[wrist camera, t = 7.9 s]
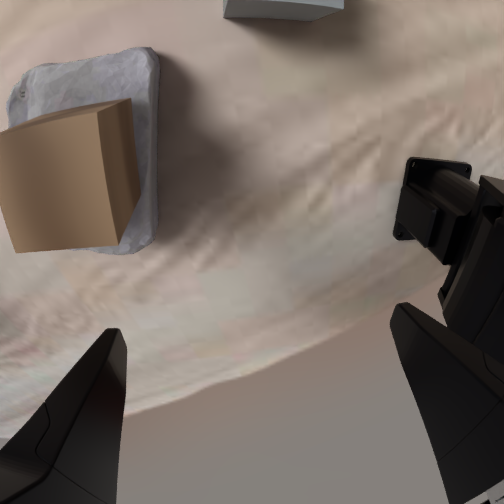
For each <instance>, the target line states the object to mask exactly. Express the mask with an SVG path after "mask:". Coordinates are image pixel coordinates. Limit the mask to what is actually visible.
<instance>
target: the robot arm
mask: <svg viewBox="0 0 504 504" xmlns="http://www.w3.org/2000/svg"><path fill="white" fill-rule="evenodd" d="M414 162H415V165H414V166H413V167H412V164H413V163H414ZM466 168H467V169H466ZM465 170H466V171H465ZM471 171H472V167H471V165H470V164H468V163H465V162H457V161H449V160H440V159H430V158H420V157H410V158H409V159H408V160H407V163H406V168H405V174H404V180H403V186H402V188H401V193H400V199H399V204H398V209H397V214H396V221H395V226H394V230H393V236H394V237H395V238H396V239H397V240H414V239H417V241H418V242H419V243H420V244H421V245H422V246H423V247H425V248H428V249H429V250H430V251H431V252H432V253H433V255H434V256H435V257H436V258H437V259H438V260H439V261H440V262H441V263H442V264H443V265H449V266H450V267H451V268H450V270H449V273H448V275H447V277H446V280H445V282H444V284H443V286H442V287H441V288H440V290H439V292H438V298H439V300H440V303H441V306H442V309H443V316H444V319H445V321H446V324H447V327H446V326H444V325H443V324H441V323H439V322H438V321H436V320H435V319H433V318H432V317H430V316H429V315H427V314H425V313H424V312H422V311H421V310H419V309H417V308H416V307H414V306H413V305H411V304H410V303H408V302H404V303H398V304H397V305H396V306H395V309H394V312H393V315H392V317H391V320H390V328H391V331H392V335H393V338H394V341H395V345H396V348H397V351H398V355H399V358H400V361H401V364H402V367H403V370H404V372H405V375H406V377H407V379H408V382H409V385H410V387H411V390H412V392H413V395H414V398H415V400H416V402H417V406H418V408H419V411H420V414H421V416H422V419H423V422H424V425H425V428H426V430H427V433H428V436H429V439H430V442H431V445H432V448H433V451H434V454H435V457H436V460H437V464H438V467H439V470H440V474H441V477H442V480H443V484H444V487H445V491H446V494H447V498H448V501H449V504H464V503H466V502H468V501H469V500H471V499H473V498H475V497H476V496H478V495H480V494H482V493H483V492H485V491H486V493H487V496H488V498H489V499H487V500H486V501H484V502H483V503H481V504H504V180H501V179H497V178H493V177H489V176H485V175H481V176H480V180H479V184H480V186H478V185H477V184H475V183H473V182H472V181H470V176H471ZM400 232H401V233H400ZM399 233H400V234H399ZM398 234H399V235H398ZM126 371H127V346H126V343H125V341H124V338H123V336H122V333H121V331H120V329H118V328H108V329H106V330H105V331H104V332H103V333H102V334H101V335H100V336H99V338H98V339H97V340H96V341H95V342H94V343H93V344H92V346H91V347H90V348H89V349H88V350H87V351H86V352H85V354H84V355H83V356H82V357H81V358H80V359H79V361H78V362H77V363H76V364H75V365H74V366H73V368H72V369H71V370H70V371H69V372H68V373H67V375H66V376H65V377H64V378H63V379H62V381H61V382H60V383H59V384H58V385H57V387H56V388H55V389H54V390H53V391H52V393H51V394H50V395H49V396H48V397H47V399H46V400H45V402H43V403H42V405H41V406H40V407H39V408H38V410H37V411H36V412H35V413H34V414H33V416H32V417H31V418H30V419H29V420H28V421H27V422H26V424H25V425H24V426H23V427H22V428H21V429H20V430H19V431H18V432H17V433H16V434H15V435H14V436H13V437H12V438H11V439H10V440H9V441H8V442H7V443H6V445H5V446H4V447H3V448H2V449H1V450H0V504H116V495H117V477H118V463H119V451H120V441H121V431H122V422H123V414H124V406H125V397H126Z"/></svg>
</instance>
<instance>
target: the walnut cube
mask: <svg viewBox="0 0 504 504" xmlns="http://www.w3.org/2000/svg"><path fill="white" fill-rule="evenodd" d="M140 196H141V189H140V181H139V173H138V165H137V156H136V147H135V137H134V126H133V114H132V100H131V98H125V99H119V100H112V101H106V102H100V103H95V104H89V105H84V106H79V107H74V108H70V109H65V110H61V111H56V112H52V113H48V114H44V115H40V116H38V117H35V118H33V119H30V120H28V121H25V122H23V123H21V124H18V125H16V126H14V127H12V128H9V129H7V130H5V131H3V132H1V133H0V206H1V210H2V213H3V216H4V220H5V223H6V226H7V229H8V232H9V235H10V238H11V241H12V244H13V247H14V249H15V252H16V253H26V252H38V251H51V250H64V249H77V248H91V247H104V246H119V243H120V241H121V239H122V236H123V234H124V232H125V229H126V227H127V225H128V222H129V220H130V218H131V216H132V214H133V211H134V209H135V207H136V205H137V203H138V201H139V199H140Z"/></svg>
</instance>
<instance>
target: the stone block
mask: <svg viewBox="0 0 504 504" xmlns="http://www.w3.org/2000/svg"><path fill="white" fill-rule="evenodd" d="M159 80H160V65H159V57H158V56H157V55H156V53H155V52H154V51H153V50H152V48H151V47H135V48H131V49H127V50H124V51H122V52H120V53H116V54H107V55H105V56H98V57H95V58H89V59H85V60H78V61H74V62H68V63H44V64H41V65H39V66H36V67H34V68H32V69H30V70H29V71H27V72H26V73H25V74H23V75H22V78H21V80H20V81H19V82H18V83H17V84H16V85H14V87H13V88H12V91H11V94H10V96H9V98H8V101H7V104H6V110H7V115H8V119H9V128H12V127H14V126H16V125H18V124H21V123H23V122H25V121H28V120H30V119H33V118H35V117H38V116H40V115H44V114H48V113H52V112H56V111H61V110H65V109H70V108H74V107H79V106H84V105H89V104H95V103H100V102H106V101H112V100H119V99H125V98H131V100H132V114H133V126H134V137H135V147H136V156H137V165H138V173H139V181H140V189H141V196H140V199H139V201H138V203H137V205H136V207H135V209H134V211H133V214H132V216H131V218H130V220H129V222H128V225H127V227H126V229H125V232H124V234H123V236H122V239H121V241H120V243H119V246H104V247H91V248H77V249H70V250H73V251H74V250H91V251H94V252H98V253H105V254H114V255H125V254H134V253H136V252H138V251H139V250H141V249H143V248H144V247H146V246H148V245H149V244H150V243H152V241H153V240H154V237H155V235H156V229H157V227H158V195H157V132H158V131H157V121H158V97H159ZM9 128H8V129H9Z"/></svg>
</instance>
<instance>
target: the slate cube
mask: <svg viewBox="0 0 504 504" xmlns="http://www.w3.org/2000/svg"><path fill="white" fill-rule="evenodd" d="M343 9H344V0H223V18H272V19H288V20H300V21H310V22H312V21H314V20H317V19H319V18H322V17H324V16H327V15H329V14H332V13H335V12H337V11H340V10H343Z"/></svg>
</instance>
